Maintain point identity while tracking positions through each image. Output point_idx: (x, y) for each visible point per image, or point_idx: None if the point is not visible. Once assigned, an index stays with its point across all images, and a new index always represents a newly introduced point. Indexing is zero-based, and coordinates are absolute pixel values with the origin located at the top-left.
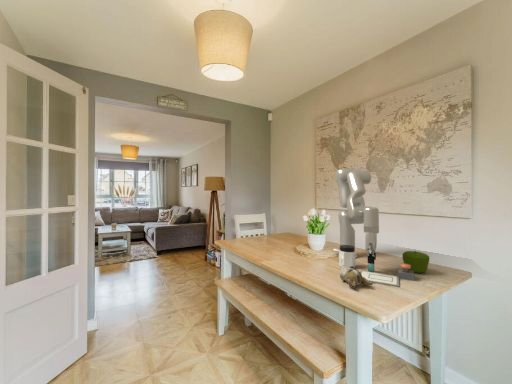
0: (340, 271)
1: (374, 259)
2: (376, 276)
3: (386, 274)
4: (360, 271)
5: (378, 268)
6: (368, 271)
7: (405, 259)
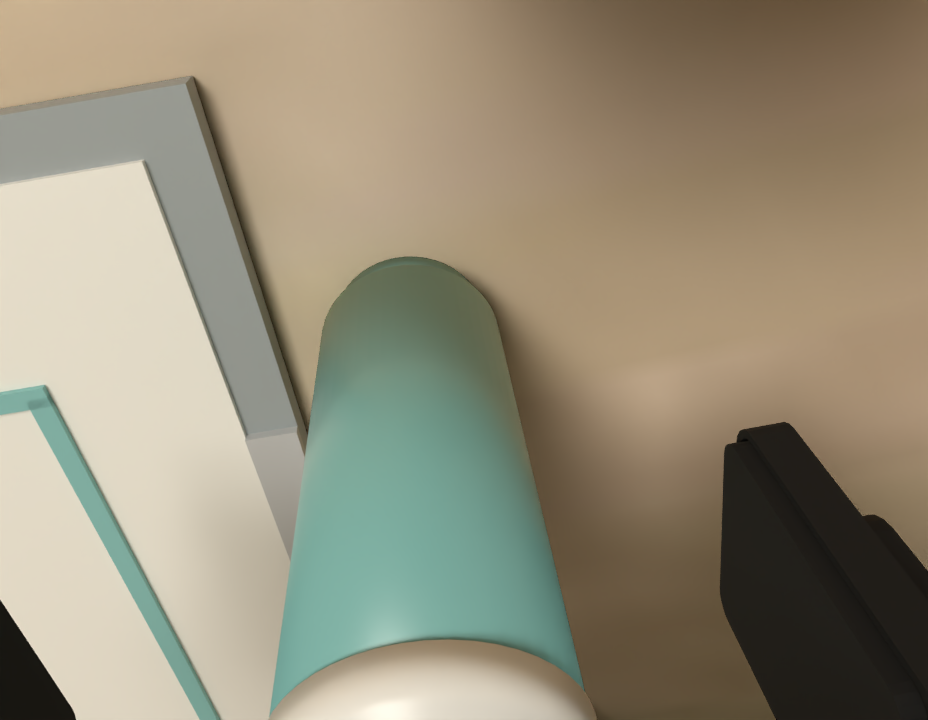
0: None
1: (721, 586)
2: (4, 546)
3: None
4: (81, 105)
5: (850, 378)
6: (370, 268)
7: None
